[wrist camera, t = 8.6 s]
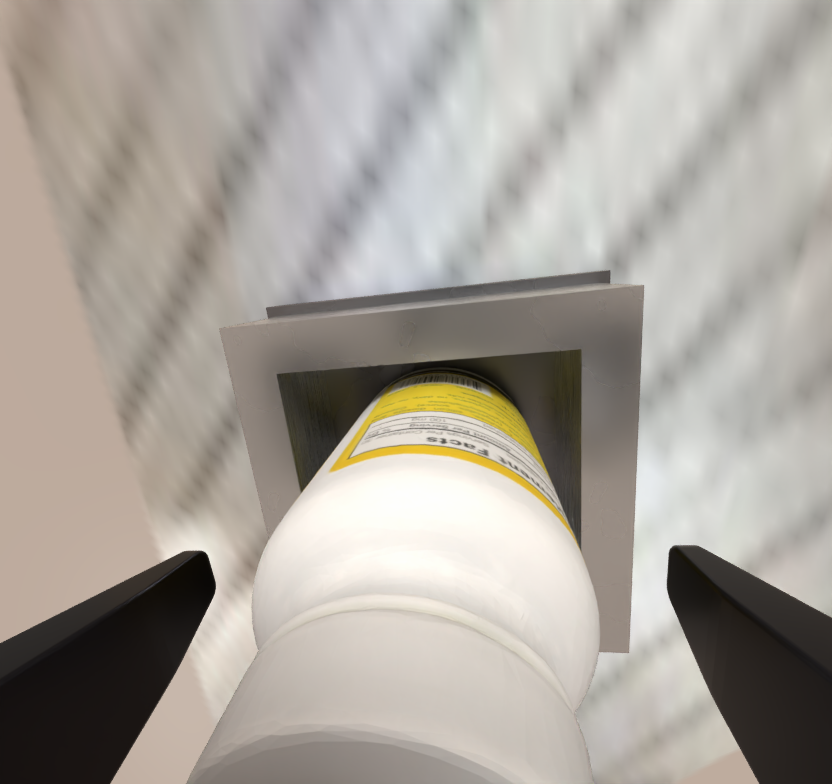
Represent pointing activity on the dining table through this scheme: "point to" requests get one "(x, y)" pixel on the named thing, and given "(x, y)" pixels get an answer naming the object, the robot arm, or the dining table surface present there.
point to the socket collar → (478, 353)
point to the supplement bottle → (418, 609)
